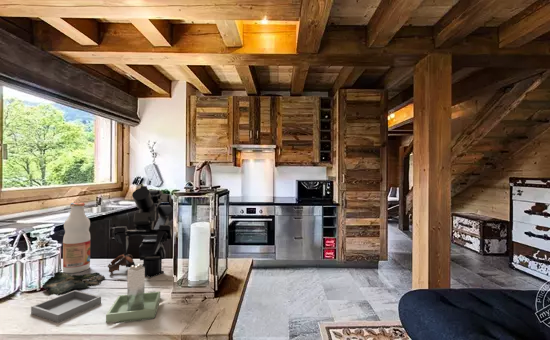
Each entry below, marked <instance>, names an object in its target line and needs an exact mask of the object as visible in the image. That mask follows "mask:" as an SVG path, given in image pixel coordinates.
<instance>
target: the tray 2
mask: <svg viewBox="0 0 550 340" xmlns="http://www.w3.org/2000/svg"><path fill="white" fill-rule="evenodd" d="M160 300H161V291H152V292H151V291H150V292H144V309H143V310H136V311H127V294H121V295H118V296H117V297H116V299H115V300H114V302H113V304H112V306H110V308H109V309H108V311H107V313H106V314H105V323H111V322H115V324H120V323H128V322H137V321H145V320H154V319H155V317H156V314H157V310H158V307H159V304H160Z"/></svg>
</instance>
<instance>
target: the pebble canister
mask: <svg viewBox="0 0 550 340" xmlns="http://www.w3.org/2000/svg"><path fill="white" fill-rule="evenodd" d="M145 277H146V276H145V267H144V266H142V264H140V263H139V264H137V265H135V266H134V265H133V266H131V267H128V268H127V280H126V281H127V290H126V295H127V311H136V310H143V309H144V293H145V284H146V283H145V281H146V280H145V279H146V278H145Z"/></svg>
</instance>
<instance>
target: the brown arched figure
mask: <svg viewBox="0 0 550 340" xmlns="http://www.w3.org/2000/svg"><path fill="white" fill-rule="evenodd" d="M133 265H134V266H136V264H135V261H134V257H133V255H132V254H129V253H127V254H126V256H124V254H120V255H118V256H117V257H115V258H113V260H111V261H110V263H109V264H107V268H108V272H109V273H110V274H113V272H116V271H118V272H119V271H120V267H125V268H130V267H131V266H133Z"/></svg>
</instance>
